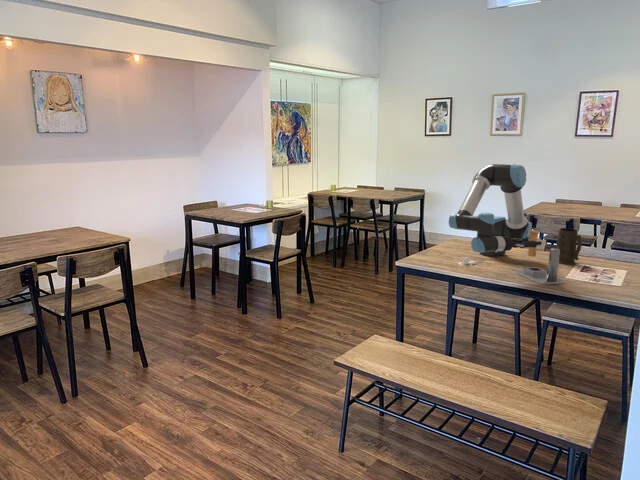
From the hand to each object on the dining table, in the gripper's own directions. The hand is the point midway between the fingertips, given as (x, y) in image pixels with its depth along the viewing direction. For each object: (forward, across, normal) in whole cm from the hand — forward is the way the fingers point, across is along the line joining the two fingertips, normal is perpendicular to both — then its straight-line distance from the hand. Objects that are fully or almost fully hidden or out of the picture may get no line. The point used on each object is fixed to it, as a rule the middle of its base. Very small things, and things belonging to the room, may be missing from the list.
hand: (542, 241), depth 239 cm
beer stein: (+33, -19, -18) cm, 42 cm away
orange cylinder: (-5, 0, -7) cm, 9 cm away
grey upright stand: (-3, +4, -18) cm, 19 cm away
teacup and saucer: (-25, -26, -19) cm, 41 cm away
